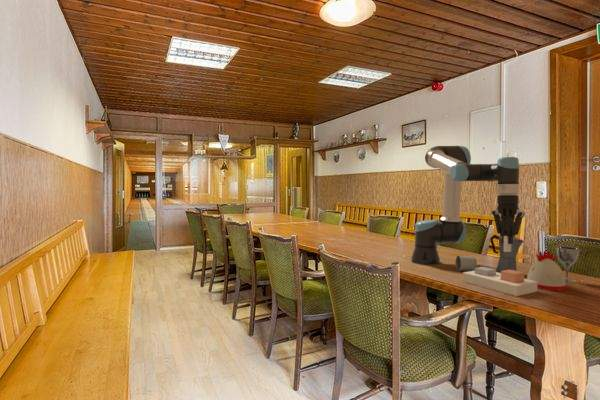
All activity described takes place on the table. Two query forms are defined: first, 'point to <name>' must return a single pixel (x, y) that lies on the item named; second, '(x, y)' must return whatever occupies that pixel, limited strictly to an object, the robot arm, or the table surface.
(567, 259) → the wine glass
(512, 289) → the panel
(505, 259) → the moka pot
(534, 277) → the beige red dome
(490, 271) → the grey rounded block
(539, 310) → the table surface
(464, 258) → the grey cylinder
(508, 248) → the robot arm
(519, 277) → the pink rounded block
